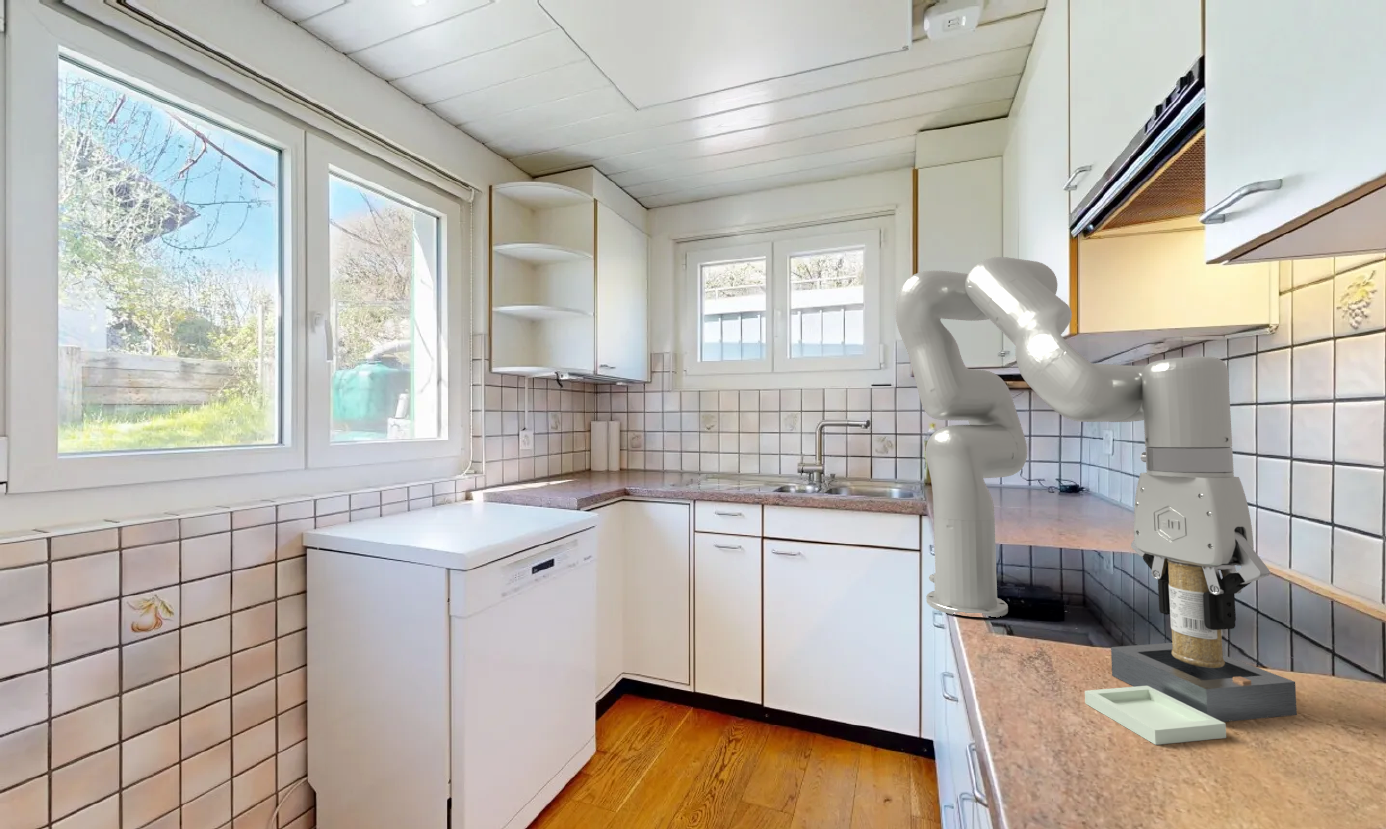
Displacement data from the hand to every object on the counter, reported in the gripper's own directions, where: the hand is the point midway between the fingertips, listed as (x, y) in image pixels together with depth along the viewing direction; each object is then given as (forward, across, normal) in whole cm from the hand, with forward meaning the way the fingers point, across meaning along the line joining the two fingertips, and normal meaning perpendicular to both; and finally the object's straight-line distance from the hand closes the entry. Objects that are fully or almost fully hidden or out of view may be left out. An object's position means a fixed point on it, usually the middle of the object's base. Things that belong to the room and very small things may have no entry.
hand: (1195, 618), depth 62 cm
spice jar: (+5, 0, 0) cm, 5 cm away
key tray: (+9, +4, -11) cm, 14 cm away
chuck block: (+9, 0, 0) cm, 9 cm away
